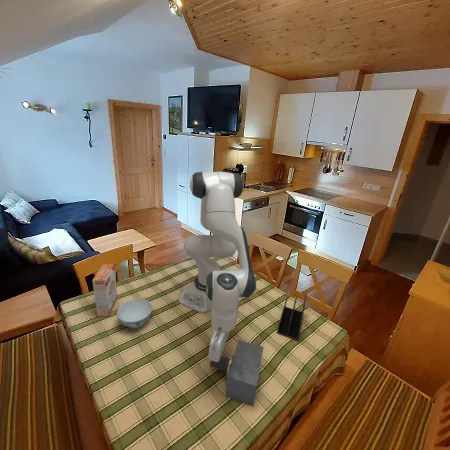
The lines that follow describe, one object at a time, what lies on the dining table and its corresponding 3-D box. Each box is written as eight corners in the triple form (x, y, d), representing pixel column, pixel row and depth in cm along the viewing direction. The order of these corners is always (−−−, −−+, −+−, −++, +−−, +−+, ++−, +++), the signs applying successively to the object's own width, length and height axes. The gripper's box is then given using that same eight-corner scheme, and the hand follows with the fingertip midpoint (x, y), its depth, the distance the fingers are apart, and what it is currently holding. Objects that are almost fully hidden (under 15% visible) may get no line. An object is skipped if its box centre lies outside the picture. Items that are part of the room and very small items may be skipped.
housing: (225, 396, 83) (227, 376, 79) (236, 357, 97) (238, 339, 93) (253, 406, 80) (256, 386, 77) (260, 365, 95) (263, 347, 91)
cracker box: (110, 316, 112) (105, 280, 105) (96, 317, 112) (91, 280, 104) (118, 297, 125) (114, 263, 118) (106, 297, 124) (101, 263, 117)
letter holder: (302, 314, 124) (308, 292, 119) (298, 341, 107) (304, 317, 102) (284, 307, 128) (288, 286, 123) (276, 333, 111) (281, 309, 105)
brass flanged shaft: (207, 374, 88) (208, 360, 85) (214, 358, 94) (215, 345, 92) (247, 388, 84) (249, 374, 82) (251, 370, 91) (253, 356, 88)
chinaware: (159, 323, 111) (158, 310, 108) (128, 341, 100) (126, 327, 98) (142, 306, 120) (141, 294, 117) (113, 321, 110) (111, 308, 107)
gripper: (223, 344, 71) (220, 377, 76) (239, 302, 89) (236, 331, 94) (204, 338, 72) (202, 371, 77) (223, 298, 91) (221, 326, 96)
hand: (221, 348), depth 86 cm, fingers open, 8 cm apart
